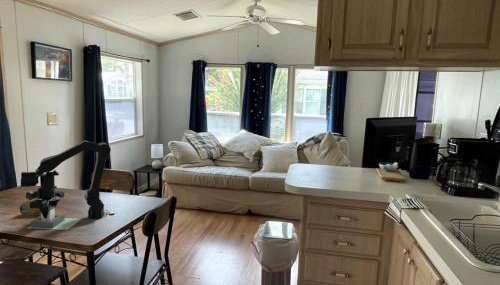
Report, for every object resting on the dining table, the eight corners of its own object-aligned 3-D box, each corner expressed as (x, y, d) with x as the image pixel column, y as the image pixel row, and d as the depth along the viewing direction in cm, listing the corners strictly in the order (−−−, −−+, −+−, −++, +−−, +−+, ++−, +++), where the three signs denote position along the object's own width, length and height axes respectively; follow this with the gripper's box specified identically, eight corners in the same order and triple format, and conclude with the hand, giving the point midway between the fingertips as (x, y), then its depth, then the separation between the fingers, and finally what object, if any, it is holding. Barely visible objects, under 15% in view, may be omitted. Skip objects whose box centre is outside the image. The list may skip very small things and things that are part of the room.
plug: (54, 218, 153) (54, 205, 153) (50, 221, 149) (49, 208, 149) (46, 217, 153) (46, 205, 152) (41, 220, 149) (41, 208, 148)
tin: (19, 217, 159) (19, 201, 158) (22, 215, 162) (21, 199, 161) (53, 216, 163) (53, 200, 162) (55, 214, 166) (55, 198, 165)
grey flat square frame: (64, 220, 157) (64, 214, 156) (53, 228, 147) (52, 221, 146) (43, 219, 156) (43, 213, 156) (30, 227, 146) (30, 220, 146)
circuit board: (81, 220, 160) (81, 218, 160) (67, 231, 146) (67, 229, 146) (45, 218, 159) (45, 217, 159) (27, 229, 145) (27, 228, 145)
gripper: (41, 179, 158) (42, 209, 160) (16, 189, 140) (17, 223, 141) (64, 180, 159) (65, 210, 160) (42, 190, 140) (43, 224, 142)
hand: (48, 216), depth 151 cm, fingers closed on plug, 4 cm apart
